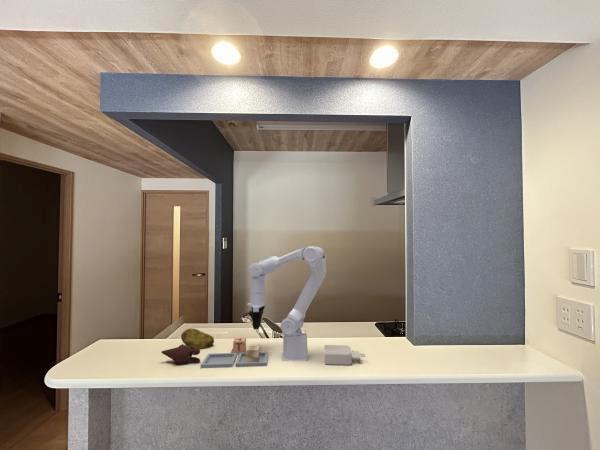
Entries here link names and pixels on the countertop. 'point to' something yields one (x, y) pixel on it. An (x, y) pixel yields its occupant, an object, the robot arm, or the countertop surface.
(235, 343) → the letter cube
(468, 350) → the countertop surface
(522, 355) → the countertop surface
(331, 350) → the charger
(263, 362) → the dish
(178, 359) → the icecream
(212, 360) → the dish
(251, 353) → the plain cube
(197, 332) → the potato
